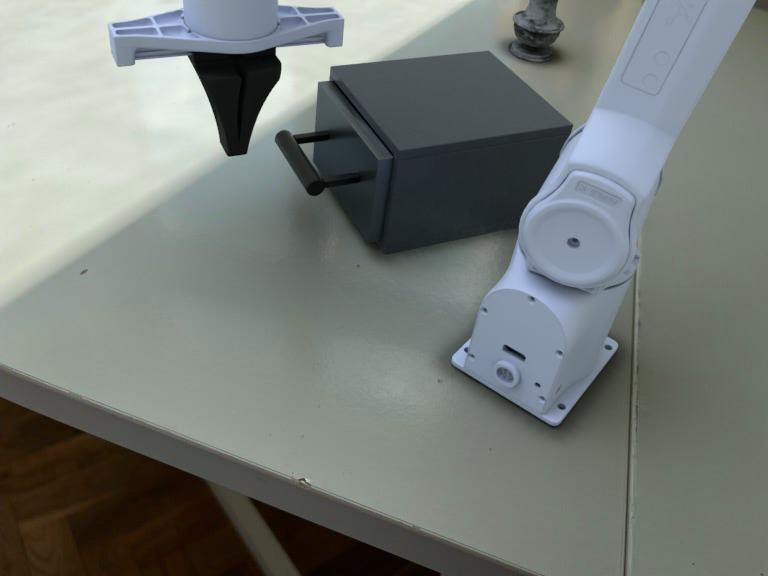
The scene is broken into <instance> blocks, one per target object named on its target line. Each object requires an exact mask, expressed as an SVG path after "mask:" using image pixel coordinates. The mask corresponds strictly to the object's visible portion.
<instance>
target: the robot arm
mask: <svg viewBox="0 0 768 576" xmlns="http://www.w3.org/2000/svg"><path fill="white" fill-rule="evenodd" d="M756 2H757V0H644V1H643V4H642V6H641V8H640V10H639V12H638V15H637V16H636V19H635V20H634V23H633V24H632V26H631V29H630V30H629V31H630V32H629V34H628V35H627V38H626V39H625V42H624V44H623V46H622V48H621V50H620V52H619V55H618V57H617V59H616V60H615V63H614V65H613V67H612V68H611V69H612V70H611V71H610V73H609V76H608V77H607V80H606V82H605V84H604V86H603V88H602V90H601V92H600V95H599V96H598V99H597V101H596V103H595V105H594V107H593V110H592V111H591V113H590V115H589V117H588V119H587V121H586V122H585V123H583V124H582V125H581V126H579V127H578V128H576V129H575V130H574V131H572V132H571V134H570V136H569V137H568V139H567V140H566V142H565V143H564V145H563V147H562V149H561V151H560V157H559V159H558V160H557V162H556V164H555V165H554V167H553V169H552V170H551V172H550V174H549V175H548V177H547V179H546V181H545V182H544V184H543V186H542V187H541V189H540V191H539V192H538V194H537V195H536V196H535V197H534V198H533V199H531V200H530V202H529V203H528V205H527V206H526V208H525V209H524V211H523V213H522V216H521V218H520V223H519V227H518V235H517V239H516V241H515V245H514V248H513V249H514V250H513V253H512V256H511V260H510V263H509V266H508V267H507V269H506V271H505V273H504V274H503V276H502V277H501V278H500V279H499V281H497V282H496V284H495V285H494V286H493V287H492V288H491V289H490V290H489V291H488V292H487V293H486V295H484V297H483V299H482V301H481V303H480V305H479V309H478V312H477V315H476V320H475V323H474V327H473V330H472V334H471V337H470V338H469V339H468V340H467V341H466V342H465V343H464V344H463V345H462V346H461V347H460V348H459V349H458V350H457V351H456V352H455V353H454V354H452V357H451V365H452V366H454V367H455V368H457V369H458V370H460V371H462V372H463V373H465V374H467V375H468V376H469V377H471V378H473V379H475V380H477V381H478V382H480V383H481V384H482V385H484V386H485V387H488V388H489V389H491V390H493V391H494V392H496V393H497V394H499V395H501V396H503V397H504V398H505V399H507V400H509V401H511V402H512V403H513V404H516V405H517V406H519V407H520V408H522V409H524V410H525V411H527V412H528V413H530V414H531V415H533V416H535V417H536V418H538V419H539V420H541V421H543V422H545V423H546V424H547V425H549V426H553V427H556V426H559V425H560V424H561V423H562V422H563V420H564V419H565V418H566V417H567V415H568V414H569V413H570V412H571V410H572V409H573V407H574V406H575V405H576V403H577V402H578V401H579V400H580V398H581V397H582V396H583V395H584V393H585V392H586V391H587V389H588V388H589V387H590V386H591V384H592V383H593V382H594V381H595V379H596V378H597V376H598V375H600V373H601V371H602V370H603V369H604V367H606V365H607V364H608V363H609V361H610V360H611V358H613V356H614V355H615V353H616V352H617V351H618V348H619V343H618V342H617V341H616V340H615V339H612V338H611V337H609V336H608V335H609V332H610V331H611V328H612V326H613V323H614V321H615V320H616V317H617V314H618V312H619V311H620V307H621V305H622V303H623V301H624V298H625V296H626V294H627V291H628V289H629V287H630V284H631V282H632V280H633V277H634V275H635V273H636V271H637V268H638V265H639V262H640V258H641V249H640V248H639V247H638V240H639V237H640V235H641V232H642V231H643V227H644V225H645V222H646V220H647V217H648V213H649V211H650V208H651V205H652V203H653V200H654V198H655V196H657V193H658V191H659V189H660V187H661V185H662V184H663V180H664V178H665V177H664V176H665V164H666V162H667V160H668V158H669V155H670V154H671V152H672V149H673V147H674V145H675V143H676V142H677V140H678V137H679V136H680V135H681V132H682V130H683V129H684V127H685V125H686V123H687V122H688V120H689V118H690V116H691V115H692V113H693V112H694V109H695V107H696V106H697V104H698V103H699V101H700V99H701V98H702V96H703V94H704V92H705V91H706V89H707V87H708V85H709V84H710V82H711V80H712V78H713V76H714V75H715V73H716V71H717V70H718V68H719V66H720V65H721V63H722V61H723V59H724V57H725V56H726V55H727V52H728V50H729V49H730V47H731V46H732V43H734V40H735V38H736V37H737V35H738V33H739V31H740V30H741V28H742V26H743V24H744V23H745V21H746V20H747V17H748V16H749V14H750V13H751V11H752V9H753V7H754V5H755V3H756ZM107 29H108V39H109V46H110V54H111V55H112V58H113V60H114V62H115V64H116V67H118V68H120V67H132V66H134V65H136V61H143V60H150V59H151V60H153V59H164V58H176V57H177V58H178V57H186V56H187V58H188V59H189V61H190V63H191V65H192V68H193V69H194V72H195V73H196V75H197V77H198V79H199V81H200V83H201V85H202V88H203V90H204V92H205V95H206V97H207V100H208V102H209V105H210V108H211V110H212V114H213V116H214V120H215V124H216V128H217V132H218V138H219V143H220V145H221V147H222V149H223V151H224V152H225V155H226V156H227V157H238V156H245V155H247V154H248V150H249V146H250V142H251V139H252V135H253V132H254V128H255V126H256V122H257V120H258V118H259V115H260V113H261V110H262V108H263V106H264V104H265V102H266V101H267V99H268V97H269V95H270V94H271V93H272V91H273V89H274V88H275V86H276V85H277V84H278V83H279V81H280V80H281V76H282V71H283V70H282V68H283V67H282V61H281V59H279V57H278V55H277V48H287V47H300V46H309V45H310V46H311V45H321V44H324V45H325V46H326V47H328V48H340V47H343V44H344V33H345V31H344V30H345V18H344V17H343V16H342V15H341V14H340V13H339V11H338V10H337V9H336V8H335V7H334V6H300V5H287V4H286V5H285V4H279V0H182V8H177V9H173V10H169V11H165V12H161V13H156V14H152V15H148V16H147V15H146V16H144V17H139V18H134V19H128V20H123V21H113V22H107Z"/></svg>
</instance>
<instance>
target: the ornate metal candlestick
mask: <svg viewBox="0 0 768 576" xmlns="http://www.w3.org/2000/svg"><path fill="white" fill-rule="evenodd" d="M558 4H559V0H529V1H528V3H527V6H526V8H525V9H523V10H518V11H516V12H514V13H513V15H512V21H513V31H514V35H515V37H516V40H513V41H511V42H510V43H508V45H507V49H508V51H509V52H510V53H511V54H512V55H513V56H515V57H516V58H519V59H521V60H524V61H527V62H533V63H534V62H535V63H544V62H545V63H547V62H549V61H551V60H553V59H554V56H555V53H554V51H553V49H552V48H551V47H550V46H551V45H552V44H554V43H555V42H556V41H557V40H558V38H559V37H560V35H561V32H563V31H564V30H565V28H566V26H565V22H564V21H563V20H562V19H560V18H559V17H557V8H558Z"/></svg>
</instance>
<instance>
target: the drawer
mask: <svg viewBox="0 0 768 576" xmlns="http://www.w3.org/2000/svg"><path fill="white" fill-rule="evenodd" d="M316 90H317V91H316V92H317V93H316V106H315V107H316V108H315V121H314V131H312V132H311V131H310V132H303V133H295V134H292V132H291V131H290V130H287V129H282V130H280V131H278V132H277V133H276V134H275V136H274V143H275V144H276V146H277V148H278V149H279V151H280V152H281V154H282V156H283V157H284V158H285V161H286V162H287V163H288V165H289V167H290V168H291V170H292V171H293V172H294V174H295V176H296V177H297V179H298V180H299V182H300V184H301V185H302V187H303V189H304V190H305V191H306V193H307V195H309V196H310V197H317V196H320V195H321V194H322V193H323V192H324V191H325V190H326V189H329V188H330V189H331V190H332V192H333V193H334V195H335V197H336V198H337V200H338V201H339V203H340V205H341V206H342V207H343V208H344V210H345V211H346V213H347V214H348V216H349V217H350V219H351V220H352V223H354V225H355V227H356V228H357V229H358V231H359V232H360V234H361V235H362V237H363V238H364V240H365V241H366V243H368V244H369V243H373V242H374V243H376V241H380V240H382V236H383V229H384V222H385V215H386V208H387V201H388V195H389V188H390V181H391V174H392V167H393V160H394V157H393V156H394V154H393V153H392V152H391V151H390V149H389V148H388V147H387V146H386V144H385V143H384V142H383V141H382V139H381V138H380V137H379V136H378V134H377V133H376V132H375V131H374V129H373V128H372V127H371V126H370V124H369V123H368V122H367V121H366V119H365V118H364V117H363V116H362V115H361V113H360V112H359V111H358V110H357V108H356V107H355V106H354V105H353V103H352V102H351V101H350V102H349V101H348V100H347V98H346V97H345V96H344V95H343V93H342V92H341V91H340V90H339V88H338V87H337V86H336V85H335V84H334V82H333V81H332V80H331V81H329V80H323V81H317V89H316ZM312 143H313V151H312V152H313V154H312V162H313V163H312V162H311V161H310V159H309V158H308V156H307V155H306V153H305V151H304V150H303V149H302V147H301V145H306V144H312ZM313 164H314V165H315V166H314V165H313ZM315 167H316V168H317V170H318V171H319V173H320V174H319V173H318V171H317V170H316V168H315ZM320 175H321V176H322V177H321V176H320Z"/></svg>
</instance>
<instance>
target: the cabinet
mask: <svg viewBox="0 0 768 576" xmlns="http://www.w3.org/2000/svg"><path fill="white" fill-rule="evenodd" d="M329 67H330V68H329V79H328V81H331V80H332V81H333V82H334V84H335V85H336V86H337V87H338V88H339V90H340V91H341V92H342V93H343V95H344V96H345V97H346V98H347V100H348V101H349V102H350V101H351V102H352V103H353V105H354V106H355V107H356V108H357V110H358V111H359V112H360V113H361V115H362V116H363V117H364V118H365V119H366V121H367V122H368V123H369V124H370V126H371V127H372V128H373V129H374V131H375V132H376V133H377V134H378V136H379V137H380V138H381V139H382V141H383V142H384V143H385V144H386V146H387V147H388V148H389V149H390V151H391V152H392V153H393V154H394V156H393V157H394V160H393V167H392V174H391V181H390V188H389V195H388V201H387V208H386V215H385V222H384V229H383V236H382V240H380V241H375V243H376V244H377V246H378V248H379V249H380V251H381V252H382V253H383V255H388V254H391V253H392V254H393V253H397V252H402V251H407V250H412V249H417V248H423V247H426V246H431V245H436V244H441V243H446V242H450V241H455V240H460V239H461V240H462V239H465V238H470V237H475V236H480V235H485V234H489V233H495V232H501V231H505V230H509V229H514V228H519V223H520V218H521V216H522V213H523V211H524V209H525V208H526V206H527V205H528V203H529V202H530V200H531V199H533V198H534V197H535V196H536V195H537V194H538V192H539V191H540V189H541V187H542V186H543V184H544V182H545V181H546V179H547V177H548V175H549V174H550V172H551V170H552V169H553V167H554V165H555V164H556V162H557V160H558V159H559V157H560V151H561V149H562V147H563V145H564V143H565V142H566V140H567V139H568V137H569V136H570V135H571V134H572V132H573V128H574V124H573V123H572V122H571V121H570V120H569V119H568V118H566V117H565V116H564V115H563V114H562V113H561V112H559V111H558V110H557V109H556V107H554V106H553V105H552V104H550V103H549V102H548V100H546V99H545V98H544V97H542V96H541V95H540V94H539V93H538V92H537V91H536V90H535V89H533V88H532V87H531V86H530V85H529V84H527V82H526V81H524V80H523V79H522V78H521V77H519V75H517V74H516V73H515V72H514V71H513V70H512V69H511V68H510V67H508V65H506V64H505V63H504V62H502V60H501V59H499V57H497V56H496V55H495V54H494V53H492V52H491V51H490V50H480V51H471V52H462V53H461V52H460V53H453V54H452V53H451V54H441V55H440V54H439V55H430V56H420V57H410V58H400V59H390V60H381V61H369V62H360V63H352V64H350V63H349V64H339V65H330V66H329Z"/></svg>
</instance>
